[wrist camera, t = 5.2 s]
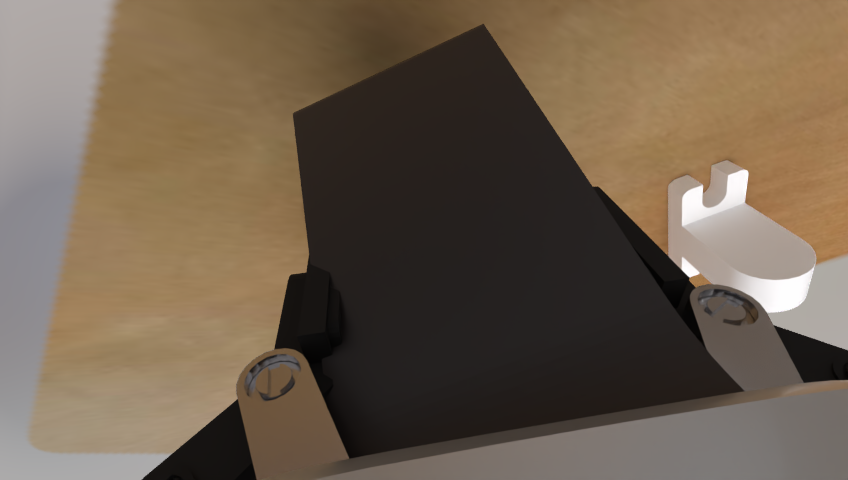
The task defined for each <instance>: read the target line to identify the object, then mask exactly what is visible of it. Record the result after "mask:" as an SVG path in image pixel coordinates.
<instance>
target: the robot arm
mask: <svg viewBox="0 0 848 480" xmlns="http://www.w3.org/2000/svg"><path fill="white" fill-rule="evenodd" d="M593 188H594V190H595V191H596V193H597V194H598V196H599V197H600V199H601V200H602V202H603V203H604V205H605V206H606V208H607V209H608V211H609V212H610V214H611V215H612V217H613V218H614V220H615V221H616V223H617V224H618V226H619V227H620V229H621V230H622V232H623V233H624V235H625V236H626V238H627V239H628V241H629V242H630V244H631V245H632V247H633V248H634V250H635V251H636V253H637V254H638V256H639V257H640V259H641V260H642V261H643V263H644V264H645V266H646V267H647V269H648V270H649V272H650V273H651V275H652V276H653V278H654V279H655V281H656V282H657V284H658V285H659V287H660V288H661V290H662V291H663V293H664V294H665V296H666V297H667V299H668V300H669V302H670V303H671V305H672V306H673V307H674V309H675V310H676V312H677V313H678V314H679V316H680V317H681V318H682V320H683V321H684V322H685V324H686V325H687V326H688V328H689V329H690V330H691V331H692V333H693V334H694V335H695V336H696V338H697V339H698V340H699V341H700V343H701V344H702V345H703V346H704V347H705V349H706V350H707V351H708V352H709V353H710V354H711V356H712V357H713V358H714V359H715V360H716V361H717V362H718V363H719V365H720V366H721V367H722V368H723V369H724V370H725V371H726V372H727V373H728V374H729V375H730V376H731V377H732V378H733V380H734V381H735V382H736V383H737V384H738V385H739V386H740V387H741V388H742V389H743V390H744V392H737V393H730V394H724V395H718V396H712V397H706V398H700V399H694V400H687V401H681V402H675V403H669V404H663V405H657V406H651V407H645V408H638V409H632V410H626V411H620V412H614V413H608V414H602V415H597V416H591V417H585V418H579V419H573V420H567V421H561V422H555V423H549V424H543V425H537V426H531V427H525V428H520V429H514V430H508V431H502V432H496V433H490V434H485V435H479V436H473V437H467V438H462V439H456V440H450V441H444V442H439V443H433V444H427V445H421V446H416V447H410V448H404V449H399V450H393V451H387V452H382V453H377V454H372V455H366V456H361V457H356V458H351V459H349V457H348V454H347V452H346V450H345V447H344V445H343V443H342V441H341V438H340V436H339V434H338V431H337V429H336V427H335V424H334V422H333V420H332V417H331V415H330V413H329V410H328V408H327V402H326V397H327V395H328V394H329V392H330V391H331V389H332V387H333V379H331V378H329V377H328V376H326V375H324V374H323V367H322V359H323V358H325V357H328V356H331V355H332V348H333V347H336V346H338V345H341V344H342V336H341V312H340V291H338V290H336V289H333V288H331V287H330V272H328V271H325V270H323V269H321V268H318V267H316V266H313V265H311V264H310V256H309V259H308V266H307V273H300V274H293V275H290V277H289V280H288V284H287V289H286V294H285V299H284V304H283V309H282V314H281V319H280V324H279V329H278V334H277V339H276V344H275V349H274V350H272V351H268V352H265V353H263V354H262V355H260V356H258V357H256V358H255V359H254V360H252V361H251V362H250V363H249V364H248V365H247V366H246V367H245V368H244V370H243V371H242V372H241V374H240V376H239V378H238V381H237V384H236V394H237V398H238V399H237V400H236V401H235V402H234V403H233V404H231V405H230V406H229V407H228V408H227V409H225V410H224V411H223V412H222V413H221V414H219V415H218V416H217V417H216V418H215V419H213V420H212V421H211V422H210V423H209V424H207V425H206V426H205V427H204V428H203V429H201V430H200V431H199V432H198V433H197V434H195V435H194V436H193V437H192V438H191V439H189V440H188V441H187V442H186V443H185V444H183V445H182V446H181V447H180V448H179V449H177V450H176V451H175V452H174V453H173V454H171V455H170V456H169V457H168V458H167V459H165V460H164V461H163V462H162V463H161V464H160V465H158V466H157V467H156V468H155V469H154V470H152V471H151V472H150V473H149V474H148V475H146V476H145V477H144V478H143V479H142V480H848V350H845V349H842V348H839V347H836V346H833V345H830V344H827V343H824V342H821V341H818V340H816V339H813V338H809V337H807V336H804V335H801V334H798V333H795V332H792V331H789V330H786V329H783V328H780V327H777V326H774V325H773V324H772V322H771V320H770V318H769V316H768V314H767V312H766V311H765V309H764V308H763V307H762V305H761V304H760V303H759V302H758V301H756V300H755V299H754V298H753V297H751V296H750V295H748V294H746V293H744V292H742V291H740V290H737V289H734V288H732V287H728V286H723V285H718V284H707V285H702V286H698V287H697V288H695V286H694V285H693V284H692V283H691V282H690V281H689V277H688V276H687V275H686V274H685V273H684V272H683V271H682V270H681V269H680V268H679V267H678V266H677V265H676V264H675V263H674V262H673V261H672V260H671V259H670V258H669V257H668V256H667V255H666V254H665V253H664V252H663V251H662V250H661V249H660V248H659V247H658V246H657V245H656V244H655V243H654V242H653V241H652V240H651V239H650V238H649V237H648V236H647V235H646V234H645V233H644V232H643V231H642V230H641V229H640V228H639V227H638V226H637V225H636V224H635V223H634V222H633V221H632V220H631V219H630V218H629V217H628V216H627V215H626V214H625V213H624V212H623V211H622V210H621V209H620V208H619V207H618V206H617V205H616V204H615V203H614V202H613V201H612V200H611V199H610V198H609V197H608V196H607V195H606V194H605V193H604V192H603V191H602V190H601V189H600V188H599V187H593Z"/></svg>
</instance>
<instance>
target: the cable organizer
mask: <svg viewBox="0 0 848 480" xmlns="http://www.w3.org/2000/svg"><path fill="white" fill-rule="evenodd" d="M747 181H748V171H747V170H745V169H743V168H741V167H739V166H738V165H736V164H734V163H732V162H730V161H728V160H725V161H722V162H719V163H717V164H714V165H711V181H710V186H709V188H708V189H707V190H706V191H705V192H704V193H703V184H701V183H700V182H698V181H697V180H695V179H694V178H692V177H691V176H689V175H685V176H683V177H680V178H677V179H675V180H673V181H672V182H671V183H670V184H669V186H668V257H669V258H670V259H671V260H672V261H673V262H674V263H675V264H676V265H677V266H678V267H679V268H680V269H681V270H682V271H683V272H684V273H685V274H686V275H687V276H688V277H692V276H695V275H697V274H699V272H700V273H701V274H702V275H703V276H704V277H705V278H706V279H707V280H708V281H710V282H711V283H712V284H718V285H723V286H728V287H732V288H734V289H737V290H740V291H742V292H744V293H746V294H748V295H750V296H751V297H753V298H754V299H755V300H756V301H758V302H759V303H760V304H761V305H762V307H763V308H764V309H765V311H766V312H782V311H786V310H791V309H793V308H795V307H797V306H799V305H800V304H801V303H802V302H803V301H804V300H805V298H806V295H807V292H808V289H809V285H810V282H811V278H812V274H813V271H814V267H815V263H816V260H817V259H816V253H815V251H814V250H813V248H812V247H811V246H810V245H809V244H808V243H807V242H805V241H804V240H803V239H801V238H799V237H798V236H796V235H795V234H793V233H792V232H790V231H788V230H787V229H785V228H784V227H782V226H781V225H779V224H777V223H776V222H774V221H773V220H771V219H770V218H768V217H766V216H765V215H763V214H762V213H760V212H758V211H757V210H755V209H754V208H752V207H751V206H749V205H747V204H746V203H745V197H746V189H747Z"/></svg>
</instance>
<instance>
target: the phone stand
mask: <svg viewBox="0 0 848 480" xmlns="http://www.w3.org/2000/svg"><path fill="white" fill-rule="evenodd" d="M293 118H294V127H295V136H296V144H297V153H298V161H299V170H300V179H301V187H302V196H303V204H304V213H305V221H306V230H307V239H308V247H309V256H310V264H311V265H313V266H316V267H318V268H321V269H323V270H325V271H328V272H330V287H331V288H333V289H336V290H338V291H340V312H341V336H342V344H341V345H338V346H336V347H333V348H332V355H331V356H328V357H325V358H323V359H322V367H323V374H324V375H326V376H328V377H329V378H331V379H333V387H332V389H331V391H330V392H329V394H328V395H327V397H326V402H327V408H328V410H329V413H330V415H331V417H332V420H333V422H334V424H335V427H336V429H337V431H338V434H339V436H340V438H341V441H342V443H343V445H344V447H345V450H346V452H347V454H348V457H349V459H351V458H356V457H361V456H366V455H372V454H377V453H382V452H387V451H393V450H399V449H404V448H410V447H416V446H421V445H427V444H433V443H439V442H444V441H450V440H456V439H462V438H467V437H473V436H479V435H485V434H490V433H496V432H502V431H508V430H514V429H520V428H525V427H531V426H537V425H543V424H549V423H555V422H561V421H567V420H573V419H579V418H585V417H591V416H597V415H602V414H608V413H614V412H620V411H626V410H632V409H638V408H645V407H651V406H657V405H663V404H669V403H675V402H681V401H687V400H694V399H700V398H706V397H712V396H718V395H724V394H730V393H737V392H744V390H743V389H742V388H741V387H740V386H739V385H738V384H737V383H736V382H735V381H734V380H733V378H732V377H731V376H730V375H729V374H728V373H727V372H726V371H725V370H724V369H723V368H722V367H721V366H720V365H719V363H718V362H717V361H716V360H715V359H714V358H713V357H712V356H711V354H710V353H709V352H708V351H707V350H706V349H705V347H704V346H703V345H702V344H701V343H700V341H699V340H698V339H697V338H696V336H695V335H694V334H693V333H692V331H691V330H690V329H689V328H688V326H687V325H686V324H685V322H684V321H683V320H682V318H681V317H680V316H679V314H678V313H677V312H676V310H675V309H674V307H673V306H672V305H671V303H670V302H669V300H668V299H667V297H666V296H665V294H664V293H663V291H662V290H661V288H660V287H659V285H658V284H657V282H656V281H655V279H654V278H653V276H652V275H651V273H650V272H649V270H648V269H647V267H646V266H645V264H644V263H643V261H642V260H641V259H640V257H639V256H638V254H637V253H636V251H635V250H634V248H633V247H632V245H631V244H630V242H629V241H628V239H627V238H626V236H625V235H624V233H623V232H622V230H621V229H620V227H619V226H618V224H617V223H616V221H615V220H614V218H613V217H612V215H611V214H610V212H609V211H608V209H607V208H606V206H605V205H604V203H603V202H602V200H601V199H600V197H599V196H598V194H597V193H596V191H595V190H594V188H593V187H592V185H591V184H590V182H589V181H588V179H587V178H586V176H585V175H584V173H583V172H582V170H581V169H580V167H579V166H578V164H577V163H576V161H575V160H574V158H573V157H572V155H571V154H570V152H569V151H568V149H567V148H566V146H565V145H564V143H563V142H562V140H561V139H560V137H559V136H558V134H557V133H556V131H555V130H554V129H553V127H552V126H551V124H550V123H549V121H548V120H547V118H546V117H545V115H544V114H543V112H542V111H541V109H540V108H539V106H538V105H537V103H536V102H535V100H534V99H533V97H532V96H531V94H530V93H529V91H528V90H527V88H526V87H525V85H524V84H523V82H522V81H521V79H520V78H519V76H518V75H517V73H516V72H515V70H514V69H513V67H512V66H511V64H510V63H509V61H508V60H507V58H506V57H505V55H504V54H503V52H502V51H501V49H500V48H499V46H498V45H497V43H496V42H495V40H494V39H493V37H492V36H491V34H490V33H489V31H488V30H487V28H486V27H485V25H484V24H482V25H480V26H478V27H476V28H473V29H471V30H469V31H467V32H465V33H463V34H461V35H459V36H456V37H454V38H452V39H450V40H448V41H446V42H444V43H441V44H439V45H437V46H435V47H433V48H431V49H429V50H427V51H424V52H422V53H420V54H418V55H416V56H414V57H412V58H410V59H407V60H405V61H403V62H401V63H399V64H397V65H395V66H392V67H390V68H388V69H386V70H384V71H382V72H380V73H378V74H375V75H373V76H371V77H369V78H367V79H365V80H363V81H360V82H358V83H356V84H354V85H352V86H350V87H348V88H346V89H343V90H341V91H339V92H337V93H335V94H333V95H331V96H329V97H326V98H324V99H322V100H320V101H318V102H316V103H314V104H311V105H309V106H307V107H305V108H303V109H301V110H299V111H297V112H294V113H293Z"/></svg>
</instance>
